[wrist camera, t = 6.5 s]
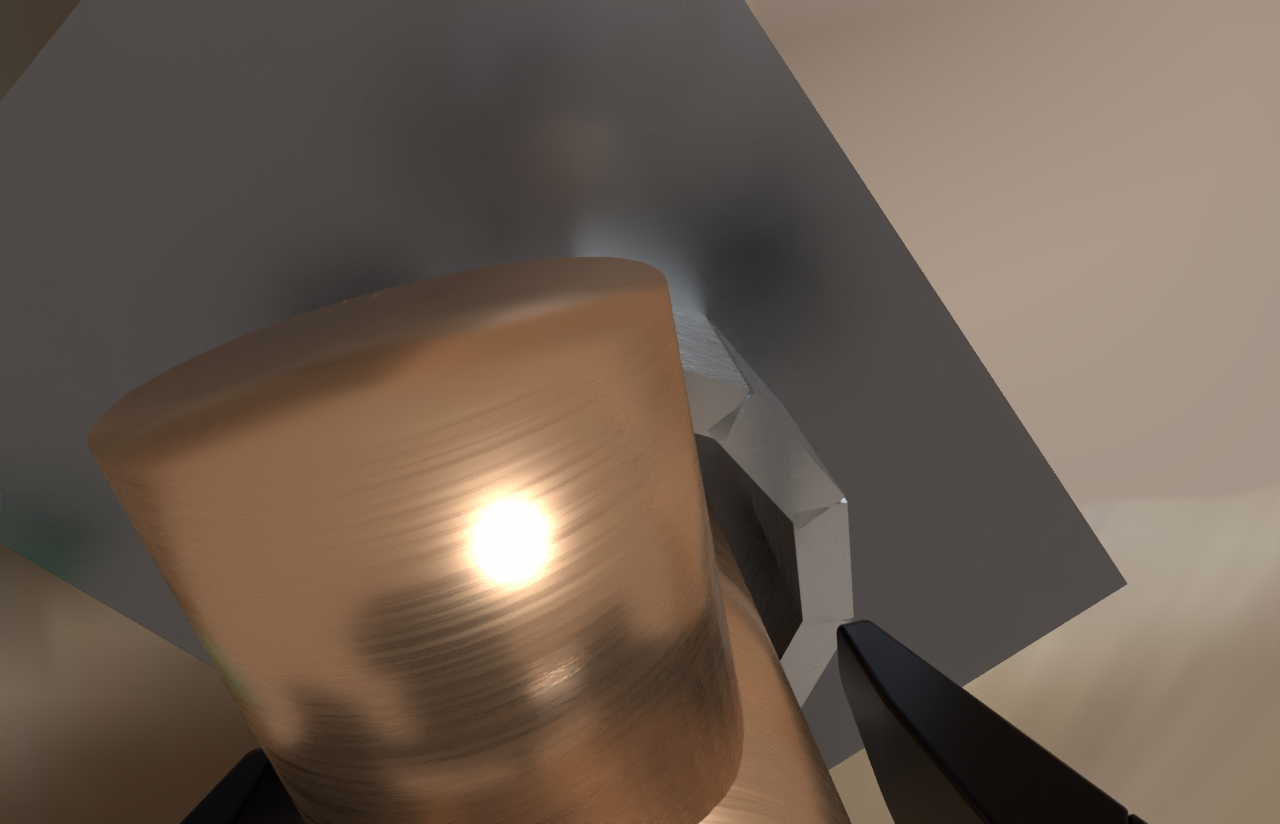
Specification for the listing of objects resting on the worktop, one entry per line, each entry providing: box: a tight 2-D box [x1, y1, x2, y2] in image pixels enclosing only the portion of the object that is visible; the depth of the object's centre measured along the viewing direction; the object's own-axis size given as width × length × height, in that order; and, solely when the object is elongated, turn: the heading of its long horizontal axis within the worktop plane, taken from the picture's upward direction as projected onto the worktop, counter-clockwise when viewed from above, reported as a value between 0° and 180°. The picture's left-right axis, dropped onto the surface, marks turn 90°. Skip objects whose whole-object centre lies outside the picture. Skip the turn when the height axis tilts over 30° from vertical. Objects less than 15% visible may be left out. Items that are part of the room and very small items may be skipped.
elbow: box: [87, 257, 851, 824], centre depth 8 cm, size 5×8×9 cm, turn 10°
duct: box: [0, 0, 1127, 770], centre depth 12 cm, size 20×15×4 cm
